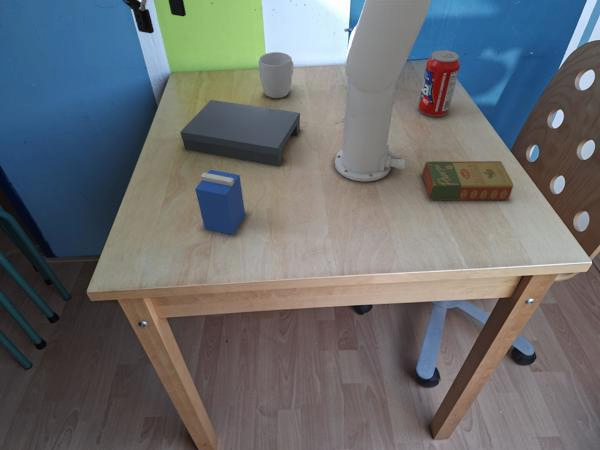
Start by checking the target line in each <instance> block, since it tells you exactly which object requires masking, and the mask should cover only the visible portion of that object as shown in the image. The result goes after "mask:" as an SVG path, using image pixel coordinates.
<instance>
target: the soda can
mask: <svg viewBox="0 0 600 450" xmlns="http://www.w3.org/2000/svg"><path fill="white" fill-rule="evenodd" d="M459 58H460V55H459V54H458V53H456V52H454V51H452V50H446V49H445V50H444V49H439V50H438V49H437V50H435V51H433V52H431V55H430V57H428V58H427V60H426V65H425V70H424V75H423V80H422V84H421V91H420V96H419V101H418V110H419V111H420V112H421V113H422V114H423V115H426V116H429V117H433V118H434V117H442V116H445V115H447V114H448V113H449V110H450V107H451V103H452V100H453V95H454V91H455V87H456V84H457V79H458V75H459V72H460V68H461V61H460V59H459Z"/></svg>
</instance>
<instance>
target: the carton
mask: <svg viewBox="0 0 600 450" xmlns="http://www.w3.org/2000/svg"><path fill="white" fill-rule="evenodd" d="M421 176H422V179H423V182H424V186H425V188H426V192H427V195H428V198H429V200H430V201H488V200H489V201H492V200H493V201H508V200H509V199H510V196H511V195H512V191H513V188H514V183H513V180H512V178H511V177H510V175H509V173H508V171H507V169H506V168H505V165H504V164H503V161H501V160H500V161H499V160H496V161H495V160H494V161H493V160H492V161H491V160H489V161H487V160H484V161H478V160H476V161H426V162H425V164H424V166H423V170H422V174H421Z"/></svg>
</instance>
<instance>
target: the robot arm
mask: <svg viewBox="0 0 600 450" xmlns="http://www.w3.org/2000/svg"><path fill="white" fill-rule="evenodd" d="M184 1H185V0H168V5H169V9H170V14H171V15H172V16H176V17H177V16H178V17H185V16H187V12H186V7H185V2H184ZM122 2H123V3H124V4H125V5H126V6H127V7H128V8H129V9H130V10H132V13H133V15H134V19H135V23H136V26H137V29H138V31H139V32H141V33H145V34H153V33H154V32H155V28H154V26H153V25H154V24H153V22H152V21H153V20H152V18H151V14H150V9H148V8H146V7H147V3H148V0H122ZM431 2H432V0H364V2H363V6H362V8H361V12H360V15H359V18H358V22H357V23H356V24H355V26H354V27H353V28H354V29H353V31H352V32H350V33H351V34H350V36H349V40H348V45H347V51H346V56H345V61H344V68H345V75H346V78H347V79H346V91H345V105H344V120H343V121H344V123H343V133H342V134H343V135H342V149H341V150H340V151H339V152H338V153H336V155H335V157H334V167H335V169H336V171H337V172H338V173H339V175H341V176H342V177H344V178H347V179H349V180H352V181H355V182H373V181H378V180H380V179H382V178H385V177H386V176H387V175H388V174H389V173H390V171H391V168H396V169H401V170H404V169H405V168H406V167H405V166H406V162H407V160H406V159H402V154H401V153H397V152H396V153H395V152H392V151H390V144H388V143H389V135H390V134H389V133H390V128H391V121H392V115H393V107H394V103H395V97H396V89H397V82H398V79H399V78H400V75H402V72H403V70H404V67H405V66H406V63H407V61H408V58H409V57H410V54H411V52H412V50H413V47H414V45H415V44H416V41H417V38H418V36H419V34H420V31H421V30H422V27H423V25H424V23H425V20H426V18H427V15H428V12H429V9H430V5H431Z"/></svg>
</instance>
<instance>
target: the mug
mask: <svg viewBox="0 0 600 450" xmlns="http://www.w3.org/2000/svg"><path fill="white" fill-rule="evenodd" d="M294 70H295V66H294V61H293V59H292V56H291V55H289V54H287V53H285V52H279V51H272V52H268V53H264V54H262V55H260V56H259V57H258V73H259V79H260V83H261V88H262V90H263V93H264V94H265V95H266V96H267V97H269V98H271V99H282V98H284V97H286V96H287V95H289V93H290V91H291V88H292V87H291V86H292V80H293V74H294Z"/></svg>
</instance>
